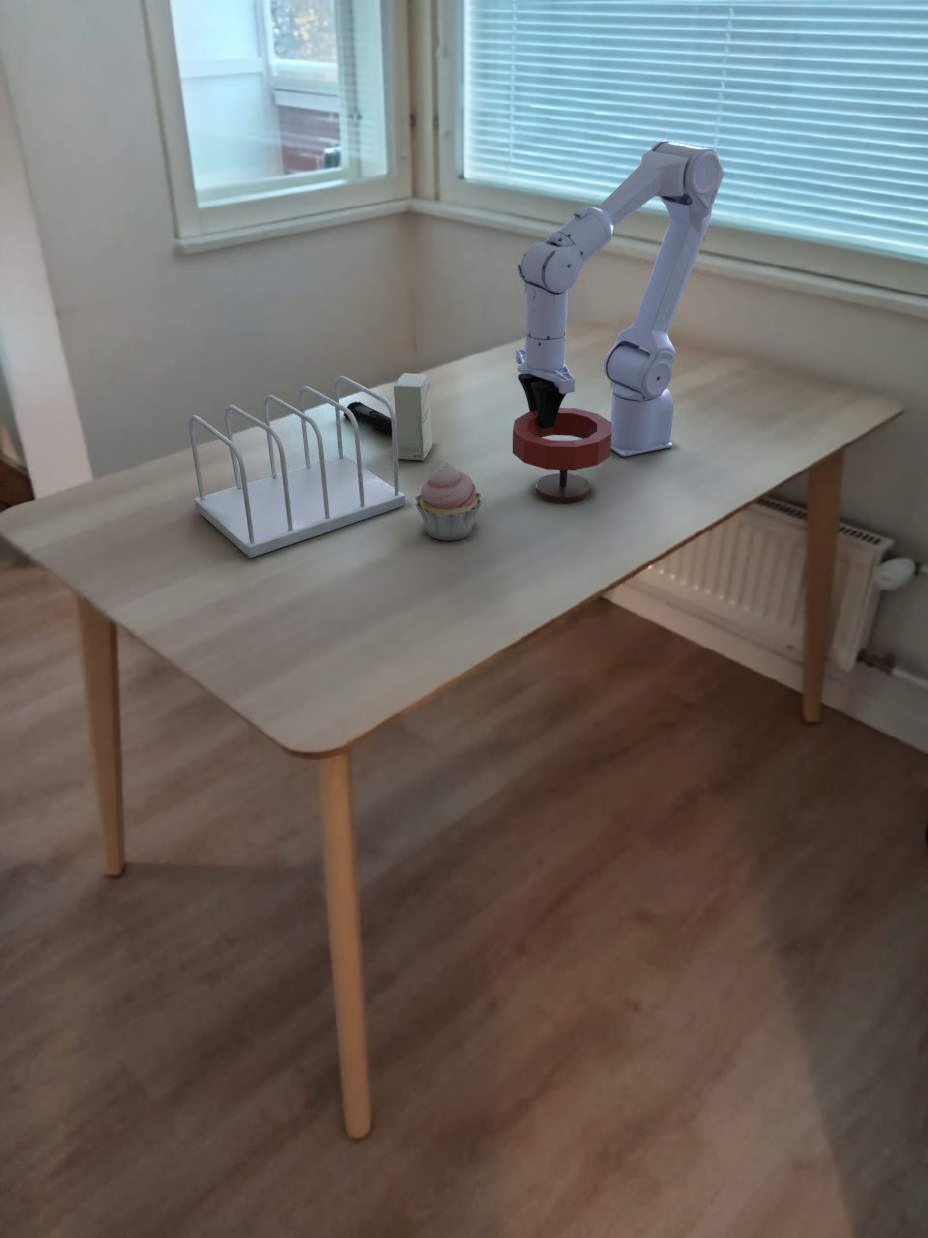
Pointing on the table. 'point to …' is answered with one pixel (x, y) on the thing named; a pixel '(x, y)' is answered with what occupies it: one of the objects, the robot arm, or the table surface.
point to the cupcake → (448, 504)
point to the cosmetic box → (413, 416)
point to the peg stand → (562, 487)
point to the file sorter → (296, 485)
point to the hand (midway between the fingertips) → (542, 423)
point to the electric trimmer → (370, 418)
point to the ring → (563, 452)
